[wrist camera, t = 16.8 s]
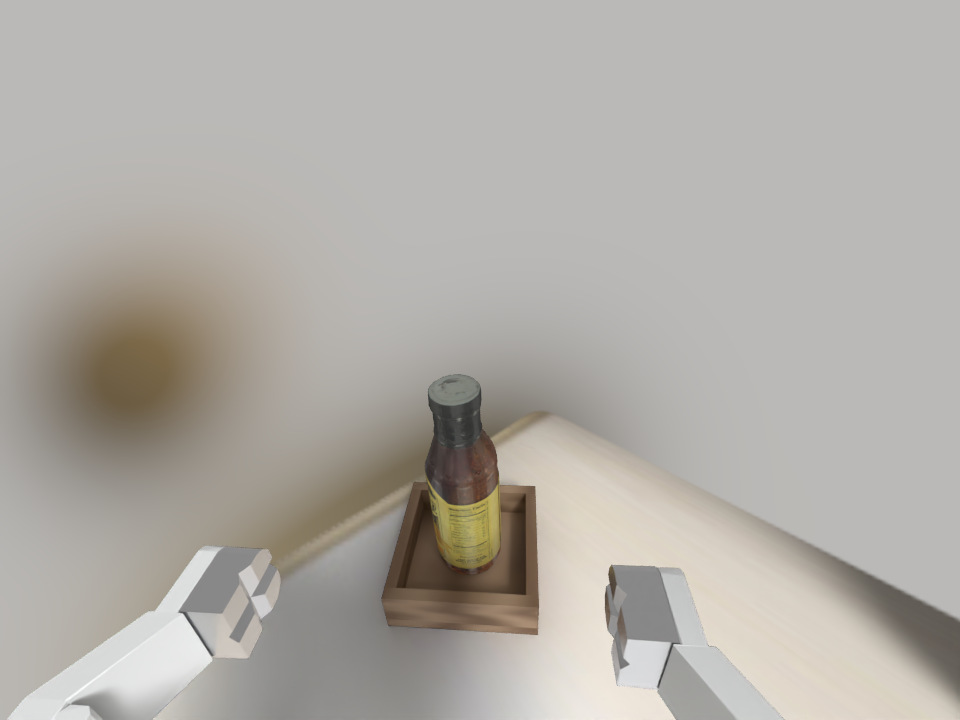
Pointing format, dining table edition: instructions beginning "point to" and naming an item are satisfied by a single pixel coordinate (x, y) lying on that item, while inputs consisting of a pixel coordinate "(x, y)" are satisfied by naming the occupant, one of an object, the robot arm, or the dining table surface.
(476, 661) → the dining table surface
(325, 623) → the dining table surface
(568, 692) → the dining table surface
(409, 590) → the brown wooden tray
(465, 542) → the sauce bottle
